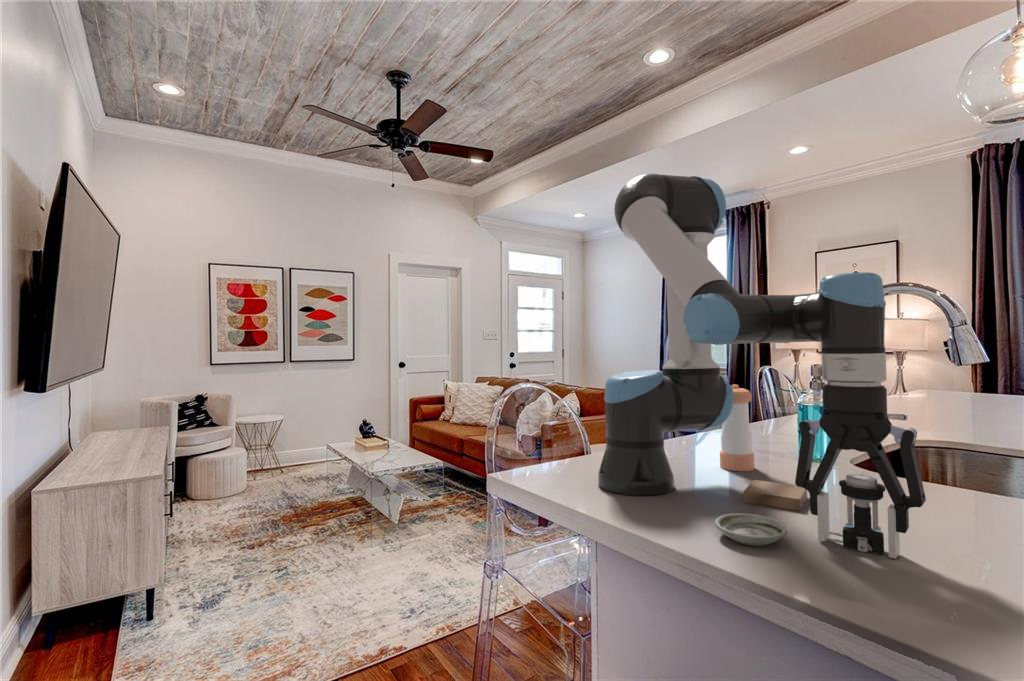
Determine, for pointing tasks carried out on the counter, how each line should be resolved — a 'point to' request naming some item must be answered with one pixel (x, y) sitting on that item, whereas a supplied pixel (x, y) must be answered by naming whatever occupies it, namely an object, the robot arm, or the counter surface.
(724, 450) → the pepper shaker
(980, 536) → the counter surface
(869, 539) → the push button
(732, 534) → the saucer
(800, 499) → the wooden block
